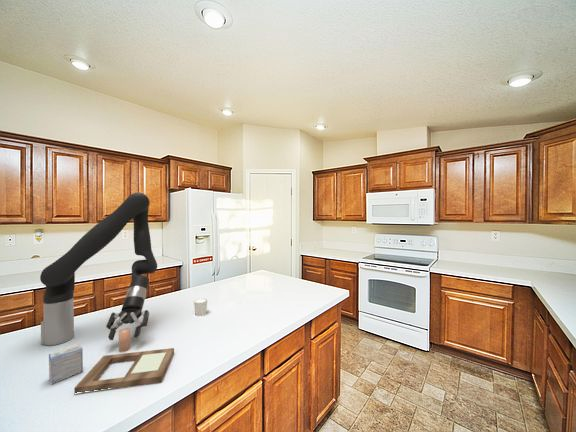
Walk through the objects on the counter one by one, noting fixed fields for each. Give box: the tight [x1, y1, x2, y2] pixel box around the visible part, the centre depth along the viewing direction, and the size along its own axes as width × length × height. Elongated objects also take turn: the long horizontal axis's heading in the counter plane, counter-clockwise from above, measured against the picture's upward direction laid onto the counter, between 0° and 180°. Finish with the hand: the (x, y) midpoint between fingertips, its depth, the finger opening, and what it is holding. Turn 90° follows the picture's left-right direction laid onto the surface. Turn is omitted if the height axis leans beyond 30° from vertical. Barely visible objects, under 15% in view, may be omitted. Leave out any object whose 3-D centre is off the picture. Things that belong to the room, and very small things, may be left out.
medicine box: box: [48, 343, 84, 385], centre depth 79 cm, size 8×4×9 cm, turn 141°
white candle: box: [193, 298, 208, 317], centre depth 127 cm, size 7×7×7 cm
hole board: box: [73, 347, 175, 394], centre depth 81 cm, size 24×16×2 cm, turn 103°
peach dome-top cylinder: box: [118, 327, 131, 353], centre depth 94 cm, size 4×4×8 cm
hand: (123, 338), depth 93 cm, fingers open, 8 cm apart
